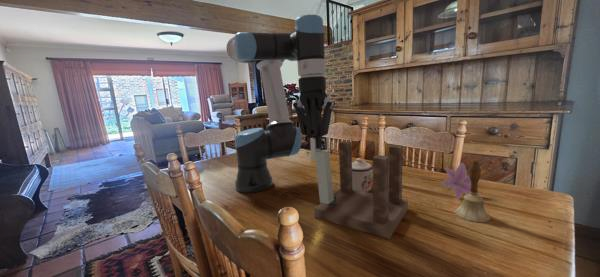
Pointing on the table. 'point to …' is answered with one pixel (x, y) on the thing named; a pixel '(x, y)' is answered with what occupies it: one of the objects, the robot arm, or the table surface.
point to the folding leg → (324, 176)
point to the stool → (368, 195)
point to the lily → (458, 180)
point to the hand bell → (473, 199)
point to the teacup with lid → (361, 175)
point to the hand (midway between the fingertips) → (315, 159)
